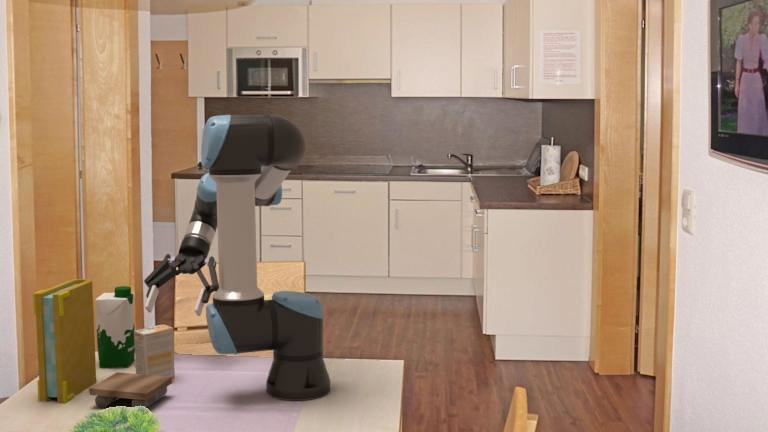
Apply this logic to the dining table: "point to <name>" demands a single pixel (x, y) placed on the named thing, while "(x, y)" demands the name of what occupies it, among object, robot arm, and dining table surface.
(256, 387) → the dining table surface
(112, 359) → the milk carton
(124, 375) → the slab
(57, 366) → the book
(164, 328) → the supplement box
